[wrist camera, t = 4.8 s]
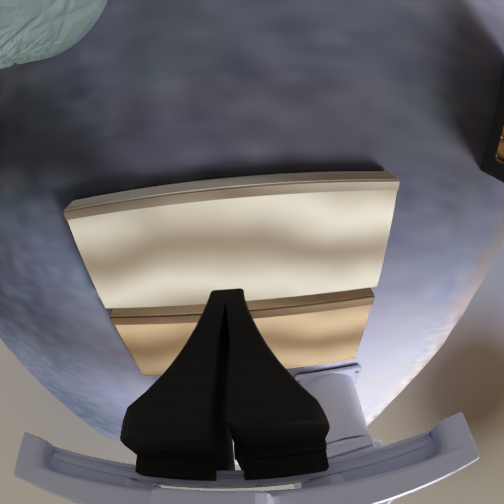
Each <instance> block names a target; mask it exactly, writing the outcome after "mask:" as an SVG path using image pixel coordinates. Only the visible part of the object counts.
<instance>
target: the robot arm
mask: <svg viewBox="0 0 504 504" xmlns="http://www.w3.org/2000/svg"><path fill="white" fill-rule="evenodd" d="M361 369H362V367H361V365H355V366H350V367H344V368H339V369H333V370H327V371H320V372H314V373H306V374H299V375H296V376H295V378H293V376H292V375H291V374H290V373H289V372H288V371H287V370H286V368H285V367H284V366H283V365H282V364H281V363H280V361H279V360H278V359H277V358H276V356H275V355H274V354H273V352H272V351H271V349H270V348H269V346H268V345H267V343H266V342H265V340H264V339H263V337H262V335H261V333H260V332H259V330H258V328H257V326H256V324H255V322H254V320H253V318H252V316H251V314H250V311H249V309H248V306H247V303H246V300H245V296H244V290H243V289H241V288H237V289H225V290H213V291H212V292H211V293H210V296H209V298H208V301H207V304H206V306H205V308H204V311H203V313H202V315H201V317H200V319H199V321H198V323H197V325H196V327H195V329H194V330H193V332H192V334H191V336H190V337H189V339H188V341H187V342H186V344H185V345H184V347H183V349H182V350H181V351H180V353H179V354H178V356H177V357H176V358H175V360H174V361H173V362H172V364H171V365H170V366H169V367H168V369H167V370H166V371H165V372H164V373H163V374H162V376H161V377H160V378H159V379H158V380H157V381H156V382H155V383H154V384H153V385H152V386H151V387H150V388H149V389H148V390H147V391H146V392H145V393H144V394H143V395H142V396H140V397H139V398H138V399H137V400H136V401H135V402H133V403H132V404H131V405H130V406H129V407H128V408H127V411H126V414H125V417H124V420H123V425H122V430H121V436H120V439H121V441H122V443H123V444H124V445H125V446H126V447H128V448H129V449H130V450H132V451H133V452H134V453H135V454H137V460H136V465H132V464H126V463H120V462H115V461H109V460H104V459H100V458H95V457H90V456H86V455H82V454H79V453H75V452H71V451H68V450H64V449H61V448H57V447H54V446H53V445H52V444H50V443H49V442H48V441H46V440H44V439H42V438H40V437H37V436H34V435H31V434H28V433H24V436H23V439H22V443H21V447H20V451H19V455H18V459H17V463H16V468H15V472H14V475H15V476H16V477H18V478H20V479H22V480H24V481H26V482H28V483H30V484H32V485H34V486H36V487H38V488H40V489H42V490H45V491H47V492H49V493H52V494H54V495H56V496H59V497H62V498H64V499H67V500H70V501H73V502H75V503H78V504H390V503H391V502H392V501H393V500H395V499H398V498H400V497H403V496H405V495H408V494H411V493H413V492H415V491H418V490H420V489H422V488H425V487H427V486H429V485H431V484H434V483H436V482H438V481H440V480H442V479H444V478H446V477H448V476H450V475H452V474H454V473H456V472H457V471H459V470H461V469H463V468H465V467H466V466H468V465H470V464H471V463H473V462H475V461H476V460H478V459H479V454H478V451H477V448H476V446H475V443H474V440H473V437H472V435H471V433H470V430H469V427H468V425H467V422H466V420H465V418H464V415H463V413H462V412H459V413H457V414H455V415H453V416H451V417H448V418H446V419H444V420H442V421H440V422H438V423H437V424H435V425H434V426H433V427H432V428H431V430H429V431H427V432H424V433H421V434H419V435H416V436H413V437H411V438H408V439H405V440H402V441H399V442H396V443H393V444H390V445H387V446H385V445H384V442H383V441H381V440H379V439H375V440H373V442H374V446H375V449H374V447H373V443H372V440H371V437H370V435H369V432H368V429H367V425H366V422H365V418H364V415H363V411H362V408H361V404H360V401H359V398H358V394H357V391H356V388H355V383H356V381H357V379H358V376H359V374H360V371H361ZM232 439H233V441H234V453H233V441H232ZM234 456H235V460H237V462H238V464H239V466H240V468H241V470H235V464H234ZM153 484H156V485H153ZM287 484H294V487H295V489H288V490H273V491H200V490H182V489H169V488H161V487H160V486H158V485H165V486H176V487H189V488H253V487H268V486H278V485H287Z"/></svg>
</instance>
